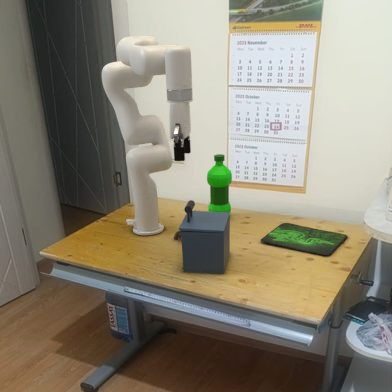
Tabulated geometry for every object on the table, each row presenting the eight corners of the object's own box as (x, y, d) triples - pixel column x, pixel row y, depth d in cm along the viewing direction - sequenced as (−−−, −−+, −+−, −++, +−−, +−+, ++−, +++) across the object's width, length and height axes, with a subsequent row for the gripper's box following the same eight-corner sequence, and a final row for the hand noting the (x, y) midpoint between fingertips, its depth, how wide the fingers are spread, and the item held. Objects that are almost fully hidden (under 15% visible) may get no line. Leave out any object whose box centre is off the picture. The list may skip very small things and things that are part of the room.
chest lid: (178, 230, 151) (177, 211, 147) (188, 212, 164) (187, 194, 160) (223, 233, 149) (224, 213, 145) (229, 214, 162) (230, 196, 158)
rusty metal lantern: (183, 236, 170) (206, 225, 172) (168, 222, 179) (190, 212, 181) (187, 253, 175) (210, 242, 177) (172, 238, 184) (194, 228, 186)
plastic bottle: (221, 211, 207) (221, 151, 192) (236, 218, 199) (237, 155, 185) (203, 216, 202) (201, 155, 188) (217, 223, 195) (216, 160, 181)
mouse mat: (349, 236, 179) (349, 233, 178) (329, 257, 164) (329, 254, 163) (282, 224, 191) (282, 221, 191) (258, 242, 176) (258, 240, 176)
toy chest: (183, 271, 159) (181, 231, 151) (192, 251, 172) (190, 213, 164) (223, 273, 157) (223, 233, 149) (229, 253, 170) (229, 214, 162)
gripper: (173, 92, 146) (176, 150, 156) (160, 100, 132) (165, 163, 142) (197, 91, 145) (199, 150, 155) (186, 100, 131) (189, 164, 141)
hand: (182, 156), depth 148 cm, fingers open, 9 cm apart
